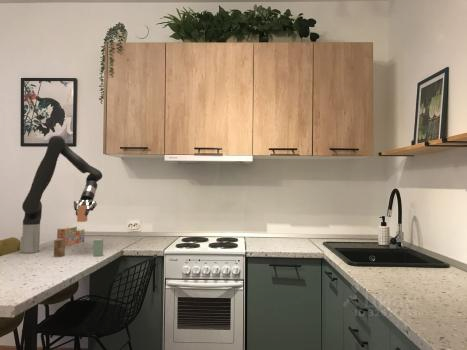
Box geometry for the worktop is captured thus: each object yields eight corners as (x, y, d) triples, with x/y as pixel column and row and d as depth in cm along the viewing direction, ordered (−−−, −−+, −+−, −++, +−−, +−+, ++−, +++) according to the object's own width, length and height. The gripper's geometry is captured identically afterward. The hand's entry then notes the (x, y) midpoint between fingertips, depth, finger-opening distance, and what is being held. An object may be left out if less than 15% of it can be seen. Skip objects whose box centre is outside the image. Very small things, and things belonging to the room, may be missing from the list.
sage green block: (93, 256, 188) (93, 240, 188) (95, 254, 192) (95, 239, 193) (100, 256, 188) (101, 240, 189) (102, 254, 193) (103, 238, 193)
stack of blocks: (76, 241, 238) (77, 224, 238) (84, 241, 237) (84, 225, 237) (56, 246, 216) (57, 228, 217) (64, 247, 215) (65, 228, 216)
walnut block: (53, 256, 185) (54, 240, 185) (56, 255, 189) (57, 239, 190) (61, 256, 186) (62, 240, 186) (64, 255, 190) (65, 239, 190)
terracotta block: (77, 221, 191) (77, 206, 192) (79, 221, 196) (80, 205, 196) (84, 221, 192) (85, 206, 192) (87, 221, 196) (87, 205, 196)
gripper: (75, 190, 201) (67, 210, 188) (99, 190, 203) (92, 211, 190) (78, 198, 206) (70, 218, 194) (101, 198, 208) (94, 219, 195)
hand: (81, 214), depth 192 cm, fingers closed on terracotta block, 4 cm apart
